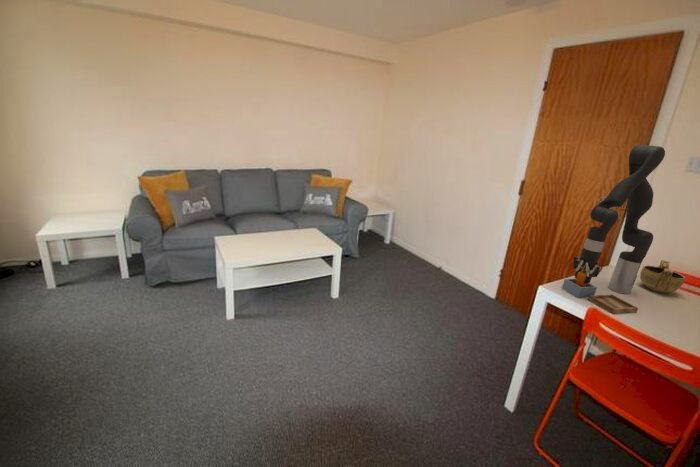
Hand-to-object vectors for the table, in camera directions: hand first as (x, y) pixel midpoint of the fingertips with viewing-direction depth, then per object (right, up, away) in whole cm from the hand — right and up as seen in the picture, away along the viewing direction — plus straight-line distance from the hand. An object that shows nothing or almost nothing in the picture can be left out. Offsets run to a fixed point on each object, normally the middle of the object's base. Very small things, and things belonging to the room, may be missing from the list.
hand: (581, 280), depth 165 cm
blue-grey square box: (-1, -6, +2) cm, 7 cm away
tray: (+8, -11, -8) cm, 16 cm away
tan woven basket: (+51, -7, +16) cm, 54 cm away
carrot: (-1, -7, +2) cm, 7 cm away
